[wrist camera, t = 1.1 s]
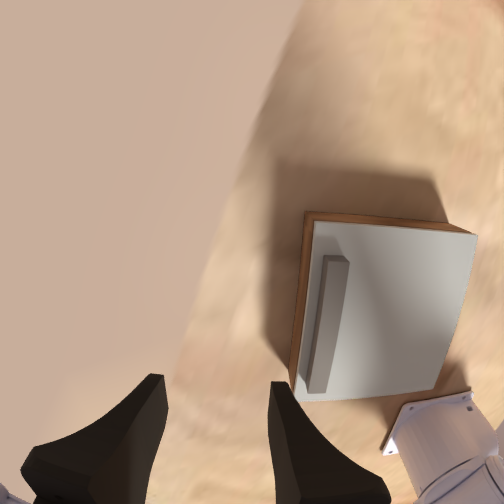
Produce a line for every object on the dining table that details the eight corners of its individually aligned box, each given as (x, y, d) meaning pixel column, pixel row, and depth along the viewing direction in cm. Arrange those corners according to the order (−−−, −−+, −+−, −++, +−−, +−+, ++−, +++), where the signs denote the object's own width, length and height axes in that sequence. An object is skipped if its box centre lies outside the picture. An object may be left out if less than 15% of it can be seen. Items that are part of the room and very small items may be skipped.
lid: (473, 233, 18) (488, 239, 16) (430, 385, 21) (439, 397, 20) (314, 220, 18) (320, 227, 16) (292, 397, 21) (295, 413, 20)
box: (449, 223, 21) (471, 232, 18) (415, 363, 25) (429, 383, 22) (304, 211, 21) (313, 219, 18) (288, 370, 24) (292, 394, 22)
